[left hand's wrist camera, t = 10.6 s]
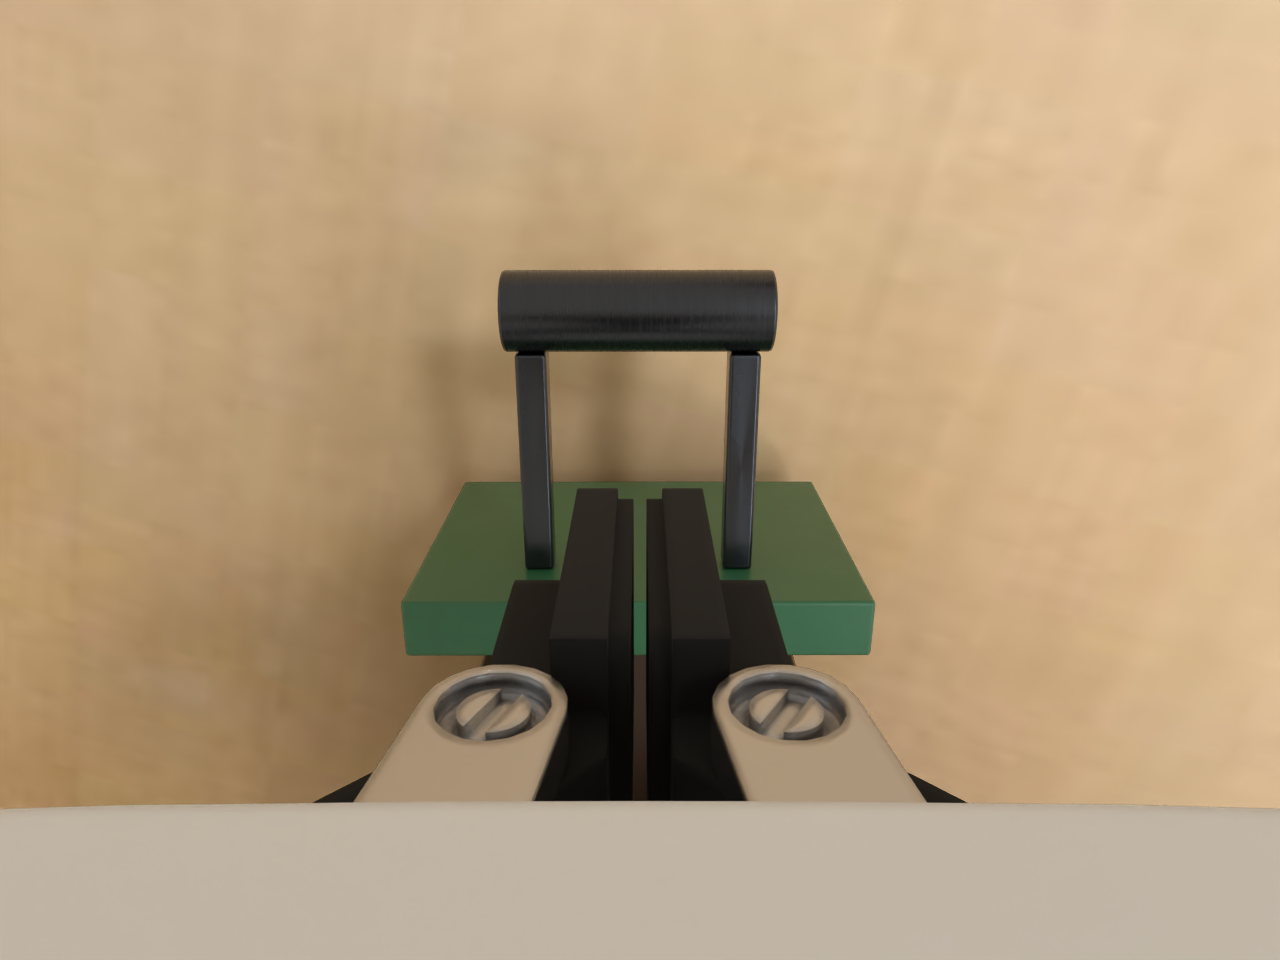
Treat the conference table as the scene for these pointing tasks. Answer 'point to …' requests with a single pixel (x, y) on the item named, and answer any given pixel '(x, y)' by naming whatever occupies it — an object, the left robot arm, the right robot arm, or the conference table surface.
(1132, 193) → the conference table surface
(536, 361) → the drawer
